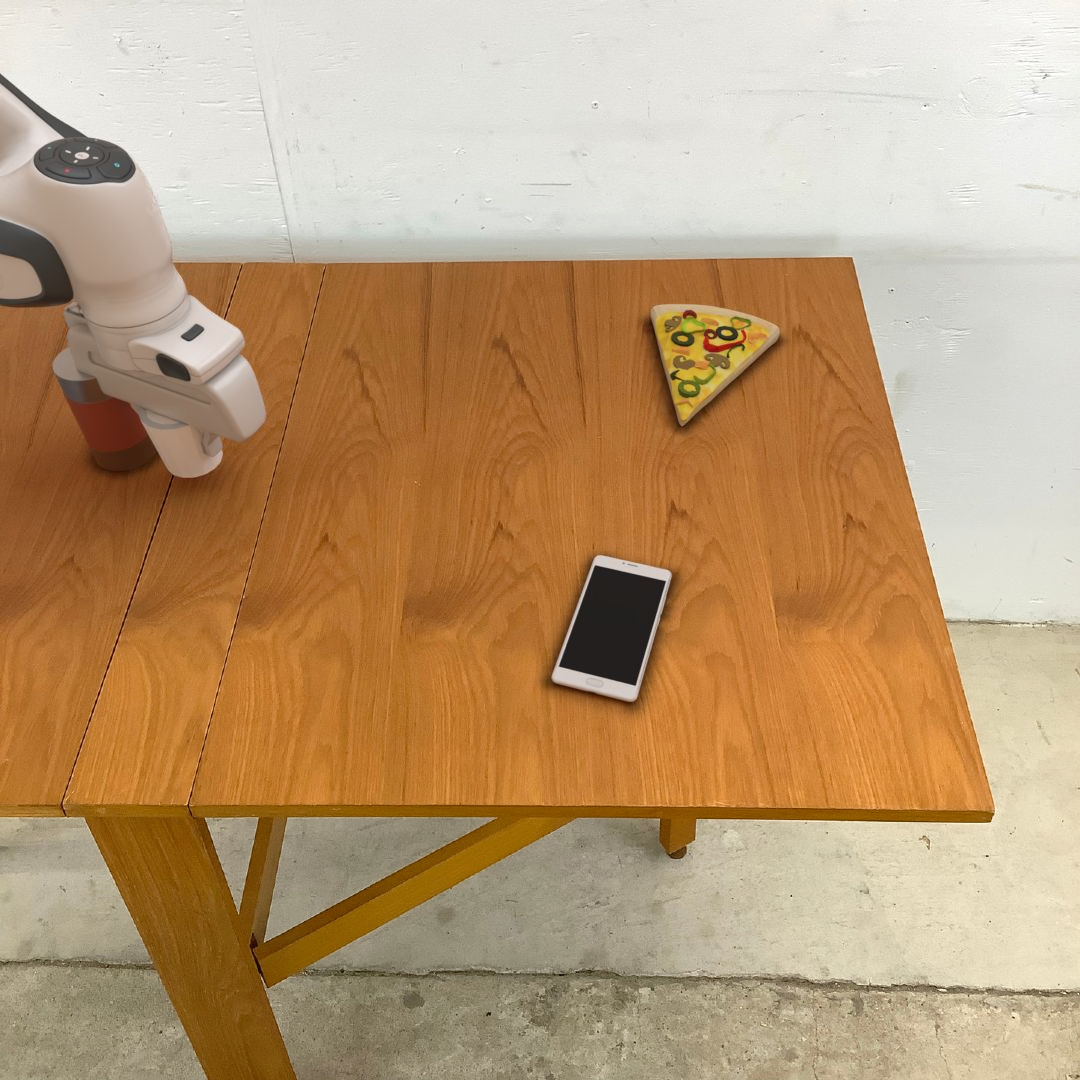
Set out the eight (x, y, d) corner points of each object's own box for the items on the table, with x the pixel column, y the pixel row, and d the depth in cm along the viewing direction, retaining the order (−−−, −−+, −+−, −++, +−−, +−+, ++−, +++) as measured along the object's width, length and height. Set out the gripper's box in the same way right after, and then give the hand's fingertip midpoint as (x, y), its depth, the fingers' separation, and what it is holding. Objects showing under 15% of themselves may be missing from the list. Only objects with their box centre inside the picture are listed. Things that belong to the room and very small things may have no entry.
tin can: (81, 460, 103) (36, 369, 95) (125, 422, 107) (86, 331, 99) (129, 479, 101) (88, 388, 92) (173, 440, 105) (138, 349, 96)
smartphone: (549, 679, 83) (595, 552, 93) (549, 684, 84) (595, 557, 93) (636, 701, 82) (673, 570, 91) (635, 705, 82) (672, 574, 92)
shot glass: (213, 485, 97) (194, 432, 92) (148, 478, 97) (125, 425, 92) (239, 439, 101) (221, 386, 96) (176, 433, 102) (155, 379, 97)
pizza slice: (780, 331, 117) (784, 310, 115) (751, 442, 104) (755, 421, 102) (654, 309, 121) (655, 288, 118) (610, 414, 107) (611, 393, 105)
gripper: (32, 315, 89) (86, 431, 99) (211, 377, 82) (249, 493, 93) (83, 280, 92) (130, 395, 103) (257, 336, 86) (289, 452, 96)
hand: (188, 442), depth 98 cm, fingers closed on shot glass, 5 cm apart
